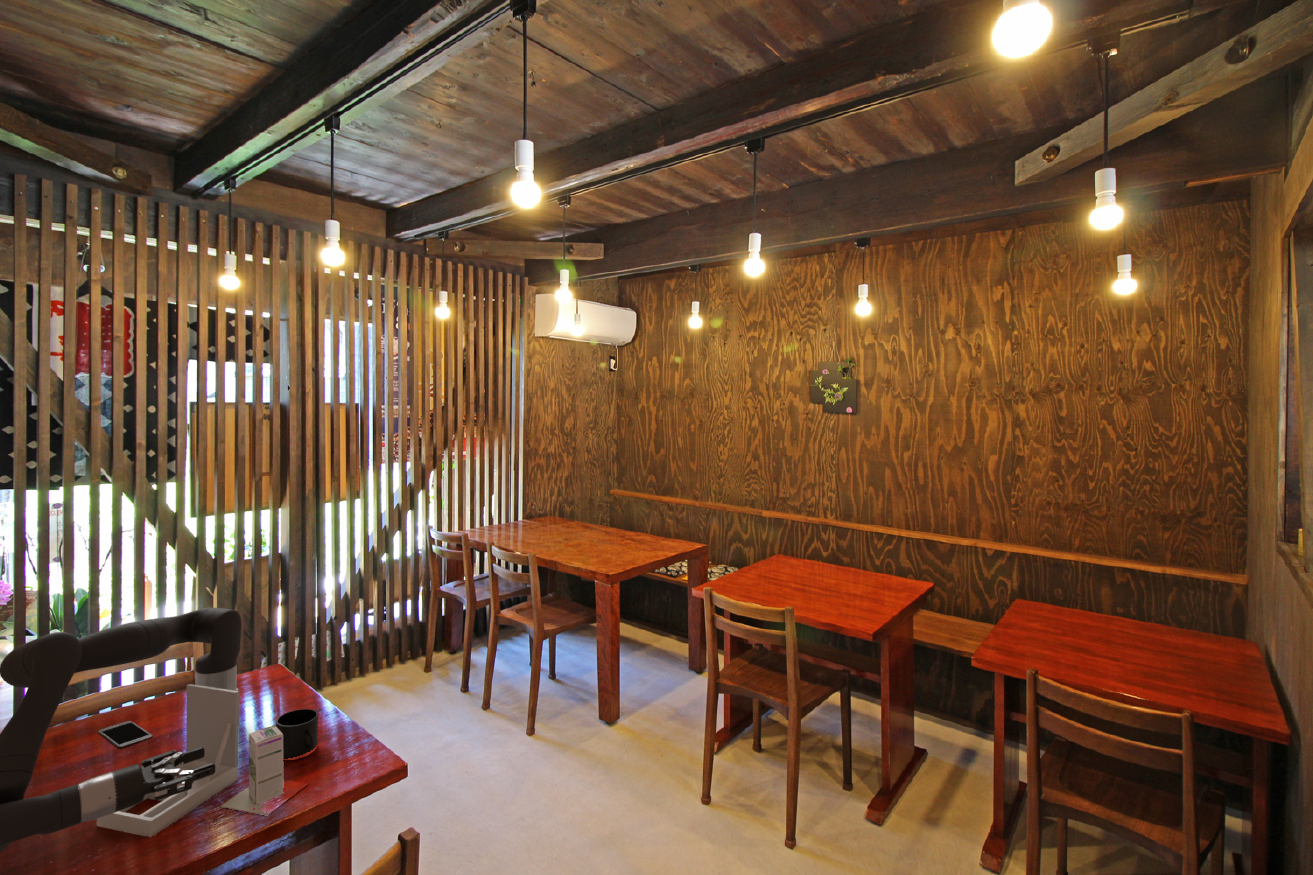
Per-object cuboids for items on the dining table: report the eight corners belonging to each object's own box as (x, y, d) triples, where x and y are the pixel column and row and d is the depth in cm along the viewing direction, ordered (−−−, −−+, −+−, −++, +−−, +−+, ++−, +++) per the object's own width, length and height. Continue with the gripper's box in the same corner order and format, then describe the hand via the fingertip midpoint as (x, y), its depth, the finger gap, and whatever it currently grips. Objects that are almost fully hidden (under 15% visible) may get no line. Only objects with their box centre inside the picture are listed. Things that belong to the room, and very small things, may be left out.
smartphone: (130, 721, 174) (130, 718, 174) (154, 738, 167) (154, 735, 166) (96, 733, 168) (96, 730, 168) (119, 750, 160) (119, 747, 160)
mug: (293, 769, 154) (294, 733, 154) (268, 753, 161) (268, 719, 160) (330, 752, 162) (331, 718, 162) (305, 738, 169) (305, 705, 168)
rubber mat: (264, 776, 151) (264, 775, 151) (308, 784, 148) (308, 783, 148) (220, 807, 139) (220, 805, 139) (267, 816, 137) (267, 814, 136)
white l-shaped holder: (189, 770, 152) (189, 683, 151) (238, 779, 149) (238, 691, 148) (96, 825, 132) (96, 725, 131) (151, 837, 129) (151, 734, 128)
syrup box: (284, 794, 144) (285, 732, 143) (255, 806, 139) (255, 742, 139) (276, 784, 147) (276, 723, 147) (247, 795, 143) (247, 732, 142)
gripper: (116, 790, 118) (218, 755, 130) (104, 759, 127) (200, 730, 140) (117, 828, 118) (218, 790, 131) (104, 795, 128) (200, 762, 140)
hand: (209, 759), depth 135 cm, fingers open, 8 cm apart
